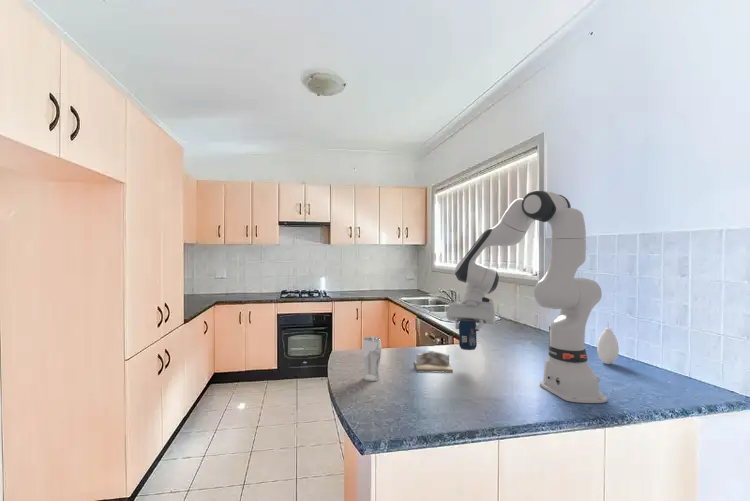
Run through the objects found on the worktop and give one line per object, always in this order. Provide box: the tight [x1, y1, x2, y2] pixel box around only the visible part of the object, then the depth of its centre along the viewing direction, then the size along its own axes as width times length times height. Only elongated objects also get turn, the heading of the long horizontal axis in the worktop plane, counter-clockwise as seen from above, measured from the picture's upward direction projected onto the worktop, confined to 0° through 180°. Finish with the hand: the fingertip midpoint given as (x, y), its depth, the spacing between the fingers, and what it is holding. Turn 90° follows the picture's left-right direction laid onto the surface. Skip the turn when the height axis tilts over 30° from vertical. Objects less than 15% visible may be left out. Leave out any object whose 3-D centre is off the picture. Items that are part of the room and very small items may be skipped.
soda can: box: [458, 319, 478, 351], centre depth 160 cm, size 7×7×12 cm
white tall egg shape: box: [596, 322, 620, 365], centre depth 168 cm, size 8×8×18 cm
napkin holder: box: [414, 350, 454, 373], centre depth 160 cm, size 13×14×5 cm
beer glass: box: [362, 336, 382, 382], centre depth 145 cm, size 7×7×15 cm
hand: (467, 329), depth 159 cm, fingers closed on soda can, 7 cm apart
